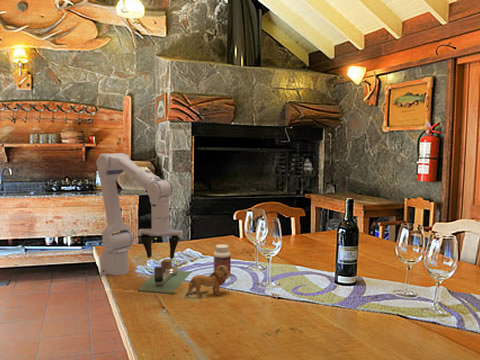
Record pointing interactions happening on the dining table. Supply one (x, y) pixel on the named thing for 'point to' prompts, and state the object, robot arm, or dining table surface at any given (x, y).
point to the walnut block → (166, 264)
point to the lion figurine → (209, 281)
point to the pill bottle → (222, 257)
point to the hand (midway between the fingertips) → (160, 257)
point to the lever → (161, 277)
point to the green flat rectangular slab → (165, 284)
